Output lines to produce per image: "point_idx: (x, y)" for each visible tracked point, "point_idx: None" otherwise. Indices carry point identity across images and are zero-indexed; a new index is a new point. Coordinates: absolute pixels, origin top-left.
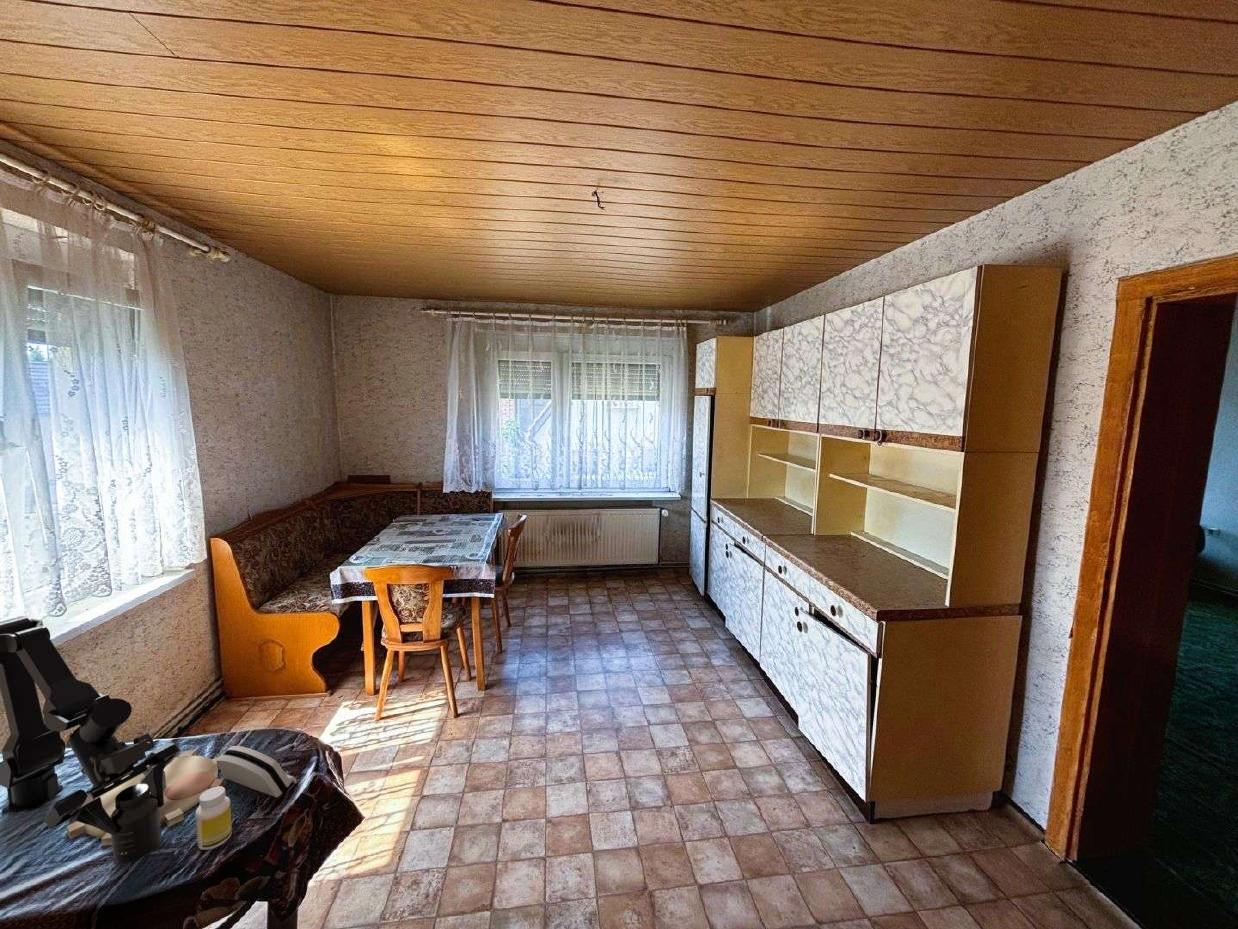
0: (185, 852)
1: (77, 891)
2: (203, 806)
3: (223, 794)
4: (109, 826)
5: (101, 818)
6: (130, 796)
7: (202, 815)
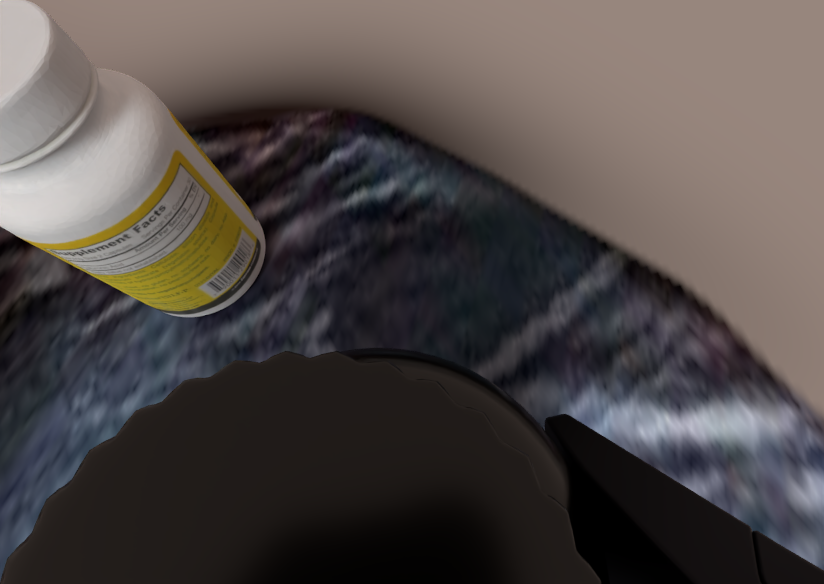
0: (303, 285)
1: (693, 445)
2: (91, 69)
3: None
4: (634, 461)
5: (785, 559)
6: (365, 509)
7: (148, 94)
